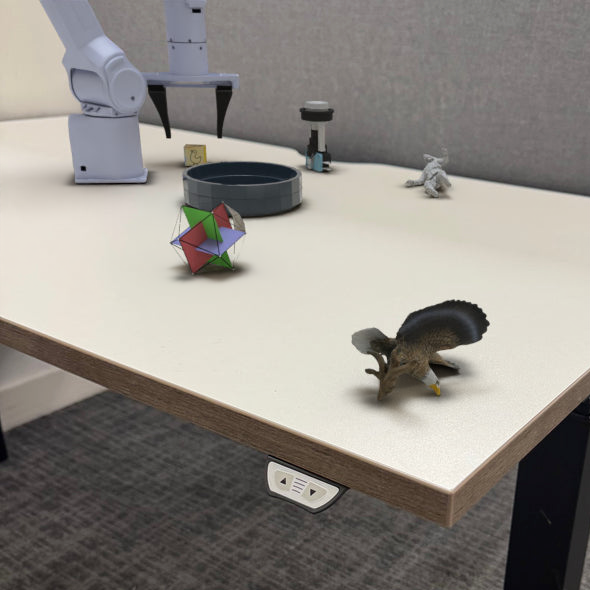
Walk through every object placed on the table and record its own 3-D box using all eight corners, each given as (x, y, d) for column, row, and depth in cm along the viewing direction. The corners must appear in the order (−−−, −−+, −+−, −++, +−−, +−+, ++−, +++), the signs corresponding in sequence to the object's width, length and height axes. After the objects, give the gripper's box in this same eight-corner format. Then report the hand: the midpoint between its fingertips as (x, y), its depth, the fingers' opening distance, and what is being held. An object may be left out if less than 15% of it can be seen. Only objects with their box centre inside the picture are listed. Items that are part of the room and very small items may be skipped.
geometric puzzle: (195, 267, 74) (227, 190, 74) (143, 253, 77) (175, 178, 77) (239, 295, 80) (268, 223, 81) (190, 280, 83) (218, 211, 84)
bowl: (184, 219, 96) (181, 186, 94) (185, 190, 109) (182, 160, 107) (308, 217, 100) (308, 185, 98) (295, 189, 113) (294, 160, 111)
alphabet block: (187, 163, 126) (185, 143, 124) (207, 163, 126) (205, 143, 125) (184, 166, 123) (183, 146, 122) (205, 167, 123) (203, 147, 122)
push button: (344, 172, 124) (344, 105, 120) (314, 175, 122) (313, 106, 117) (323, 164, 129) (323, 99, 124) (294, 167, 126) (293, 100, 122)
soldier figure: (409, 204, 112) (395, 161, 120) (430, 224, 115) (415, 180, 123) (452, 168, 109) (434, 126, 117) (472, 189, 112) (453, 147, 120)
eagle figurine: (446, 412, 52) (510, 348, 58) (391, 320, 51) (464, 263, 57) (374, 430, 58) (439, 370, 64) (323, 348, 56) (395, 294, 62)
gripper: (235, 41, 121) (240, 133, 128) (136, 38, 118) (147, 133, 124) (237, 44, 115) (242, 140, 122) (134, 42, 112) (144, 141, 118)
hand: (194, 137), depth 123 cm, fingers open, 7 cm apart
